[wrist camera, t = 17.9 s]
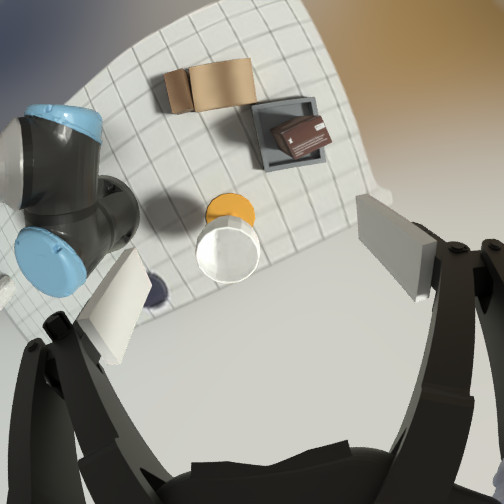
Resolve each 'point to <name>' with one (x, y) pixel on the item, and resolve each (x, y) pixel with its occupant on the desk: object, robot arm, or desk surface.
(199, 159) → the desk surface
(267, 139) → the tray
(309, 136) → the box
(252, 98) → the light brown wooden block
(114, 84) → the desk surface
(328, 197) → the desk surface
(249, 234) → the cup
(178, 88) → the brown rectangular block
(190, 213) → the desk surface
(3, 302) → the mug
